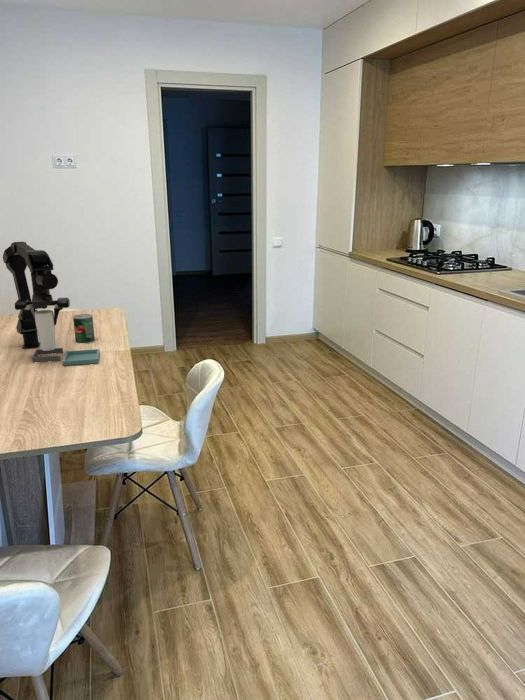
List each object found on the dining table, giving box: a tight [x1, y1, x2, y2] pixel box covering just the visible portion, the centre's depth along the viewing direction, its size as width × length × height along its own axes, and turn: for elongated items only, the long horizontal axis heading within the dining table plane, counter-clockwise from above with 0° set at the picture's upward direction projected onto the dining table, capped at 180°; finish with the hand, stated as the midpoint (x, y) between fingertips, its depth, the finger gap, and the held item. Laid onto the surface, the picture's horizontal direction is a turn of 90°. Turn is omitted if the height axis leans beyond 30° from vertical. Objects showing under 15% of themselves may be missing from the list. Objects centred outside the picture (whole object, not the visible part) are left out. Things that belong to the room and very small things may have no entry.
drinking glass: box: [34, 309, 57, 351], centre depth 198 cm, size 7×7×15 cm
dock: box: [31, 347, 64, 364], centre depth 201 cm, size 11×10×2 cm
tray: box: [61, 348, 101, 367], centre depth 198 cm, size 13×13×2 cm
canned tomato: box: [72, 313, 96, 344], centre depth 221 cm, size 8×8×11 cm
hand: (45, 325), depth 197 cm, fingers closed on drinking glass, 7 cm apart
